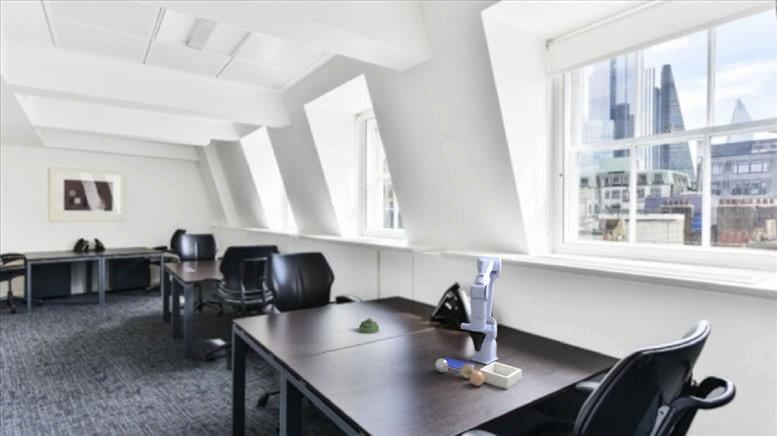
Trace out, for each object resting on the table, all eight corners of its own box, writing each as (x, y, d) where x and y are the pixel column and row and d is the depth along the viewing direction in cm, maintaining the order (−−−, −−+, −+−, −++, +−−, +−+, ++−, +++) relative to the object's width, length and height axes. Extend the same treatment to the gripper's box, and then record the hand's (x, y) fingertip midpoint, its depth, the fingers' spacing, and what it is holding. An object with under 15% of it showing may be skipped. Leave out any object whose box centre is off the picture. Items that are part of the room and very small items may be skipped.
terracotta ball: (474, 381, 152) (474, 367, 152) (486, 385, 148) (486, 371, 148) (467, 385, 148) (467, 371, 148) (479, 389, 145) (479, 375, 145)
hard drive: (474, 363, 166) (447, 356, 174) (464, 369, 160) (437, 362, 167) (474, 367, 166) (447, 360, 174) (464, 373, 160) (436, 365, 167)
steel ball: (440, 368, 163) (440, 355, 163) (450, 371, 160) (451, 359, 160) (432, 371, 160) (432, 358, 159) (443, 375, 156) (443, 362, 156)
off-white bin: (494, 371, 161) (494, 361, 161) (521, 380, 153) (521, 369, 153) (479, 380, 152) (479, 369, 152) (507, 389, 145) (507, 378, 145)
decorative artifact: (358, 333, 207) (378, 334, 207) (358, 319, 207) (378, 320, 207) (359, 328, 217) (378, 328, 217) (360, 314, 217) (379, 315, 217)
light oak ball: (464, 374, 158) (465, 361, 158) (476, 377, 155) (476, 364, 154) (457, 377, 154) (457, 364, 154) (469, 381, 151) (469, 368, 151)
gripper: (456, 314, 161) (456, 348, 162) (490, 321, 152) (489, 358, 152) (466, 310, 167) (465, 344, 167) (499, 317, 157) (498, 353, 157)
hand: (477, 350), depth 160 cm, fingers closed
